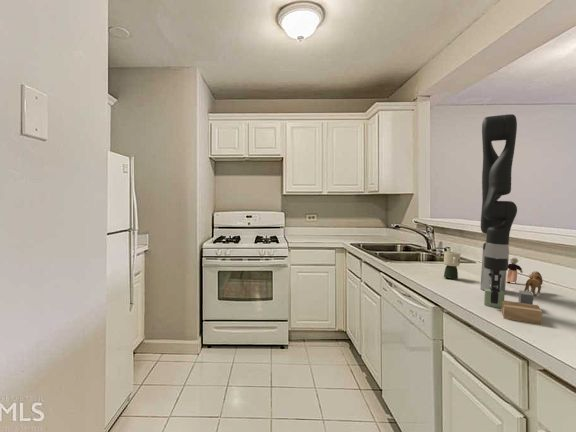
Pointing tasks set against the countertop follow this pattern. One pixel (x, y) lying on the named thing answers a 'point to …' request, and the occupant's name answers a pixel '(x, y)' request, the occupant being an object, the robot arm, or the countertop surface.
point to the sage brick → (488, 298)
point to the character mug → (451, 264)
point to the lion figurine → (534, 282)
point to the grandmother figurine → (513, 270)
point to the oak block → (521, 312)
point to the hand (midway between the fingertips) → (493, 300)
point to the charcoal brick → (525, 297)
